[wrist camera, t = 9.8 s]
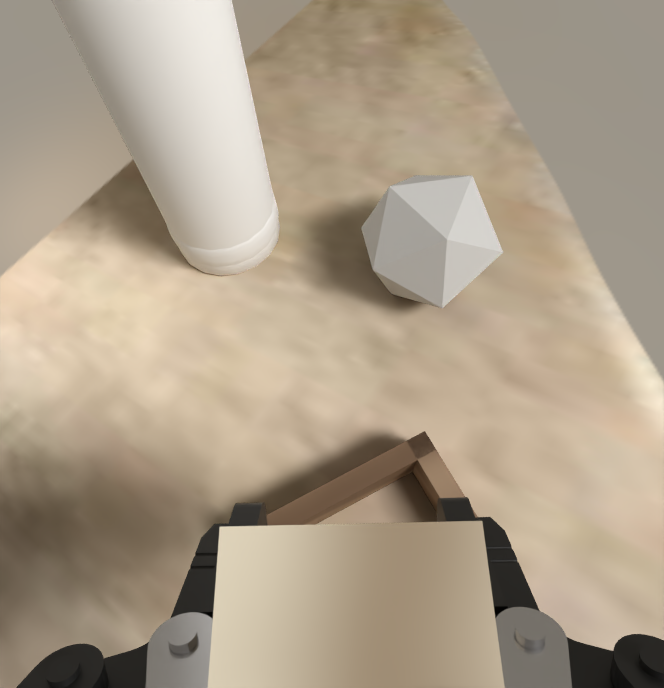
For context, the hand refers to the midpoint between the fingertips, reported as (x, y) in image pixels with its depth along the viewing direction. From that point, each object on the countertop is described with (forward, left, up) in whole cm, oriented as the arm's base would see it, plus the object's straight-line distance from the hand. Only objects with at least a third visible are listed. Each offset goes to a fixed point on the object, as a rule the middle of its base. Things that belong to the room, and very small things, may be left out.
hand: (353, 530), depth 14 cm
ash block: (+2, -1, -4) cm, 5 cm away
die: (-15, +14, -18) cm, 27 cm away
